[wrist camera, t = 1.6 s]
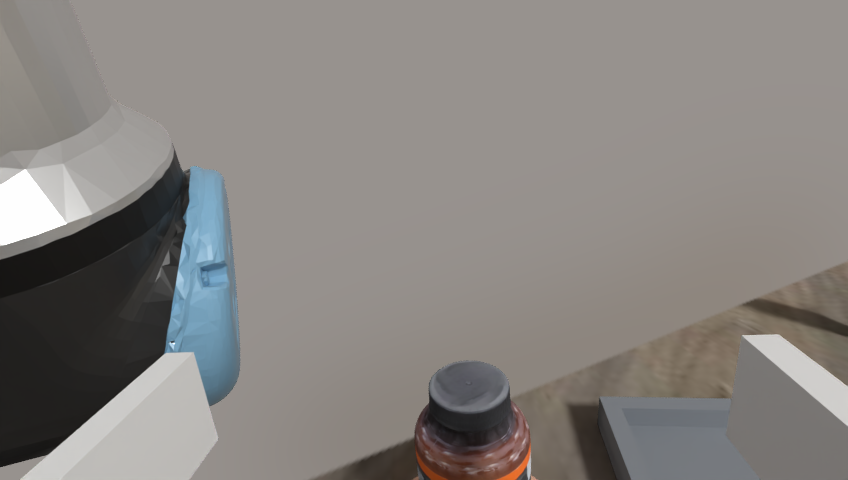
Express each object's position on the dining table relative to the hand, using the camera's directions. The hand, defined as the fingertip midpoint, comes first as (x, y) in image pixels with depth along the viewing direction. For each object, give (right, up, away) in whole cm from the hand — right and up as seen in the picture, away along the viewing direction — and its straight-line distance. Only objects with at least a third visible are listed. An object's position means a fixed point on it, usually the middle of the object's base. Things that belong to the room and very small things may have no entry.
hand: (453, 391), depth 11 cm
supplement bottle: (+2, -14, +14) cm, 20 cm away
